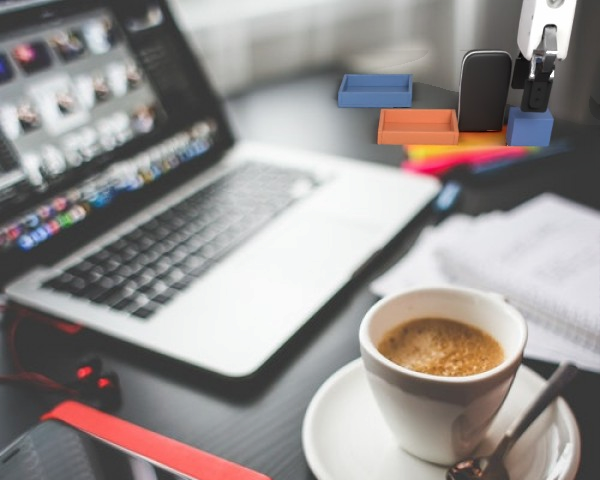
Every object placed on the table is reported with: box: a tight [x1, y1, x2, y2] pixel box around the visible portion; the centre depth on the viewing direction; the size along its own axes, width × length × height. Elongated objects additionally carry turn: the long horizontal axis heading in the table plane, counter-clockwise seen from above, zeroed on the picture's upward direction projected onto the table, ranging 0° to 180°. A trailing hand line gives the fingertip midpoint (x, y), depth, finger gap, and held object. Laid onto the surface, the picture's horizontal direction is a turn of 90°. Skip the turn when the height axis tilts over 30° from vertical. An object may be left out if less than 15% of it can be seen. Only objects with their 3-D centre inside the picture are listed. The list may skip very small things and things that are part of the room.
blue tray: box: [337, 73, 413, 109], centre depth 109 cm, size 12×11×2 cm
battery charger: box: [457, 48, 513, 132], centre depth 92 cm, size 7×4×11 cm, turn 84°
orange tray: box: [377, 108, 460, 146], centre depth 93 cm, size 11×10×2 cm
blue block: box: [505, 106, 555, 148], centre depth 86 cm, size 5×5×5 cm
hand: (527, 99), depth 84 cm, fingers open, 9 cm apart
